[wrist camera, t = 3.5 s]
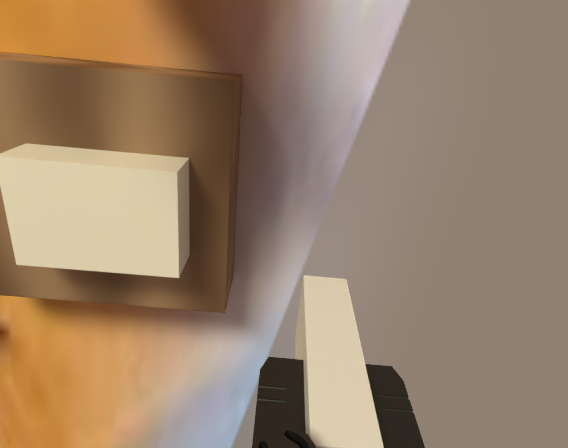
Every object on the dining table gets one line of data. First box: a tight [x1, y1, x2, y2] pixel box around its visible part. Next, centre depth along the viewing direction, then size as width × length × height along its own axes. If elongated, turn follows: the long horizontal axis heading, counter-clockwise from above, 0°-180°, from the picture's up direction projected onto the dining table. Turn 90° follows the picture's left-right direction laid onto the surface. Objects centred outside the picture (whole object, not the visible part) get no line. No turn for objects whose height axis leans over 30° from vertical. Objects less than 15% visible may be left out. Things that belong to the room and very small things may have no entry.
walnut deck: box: [0, 52, 242, 313], centre depth 23 cm, size 15×13×4 cm
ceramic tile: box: [0, 143, 190, 278], centre depth 20 cm, size 8×6×2 cm
